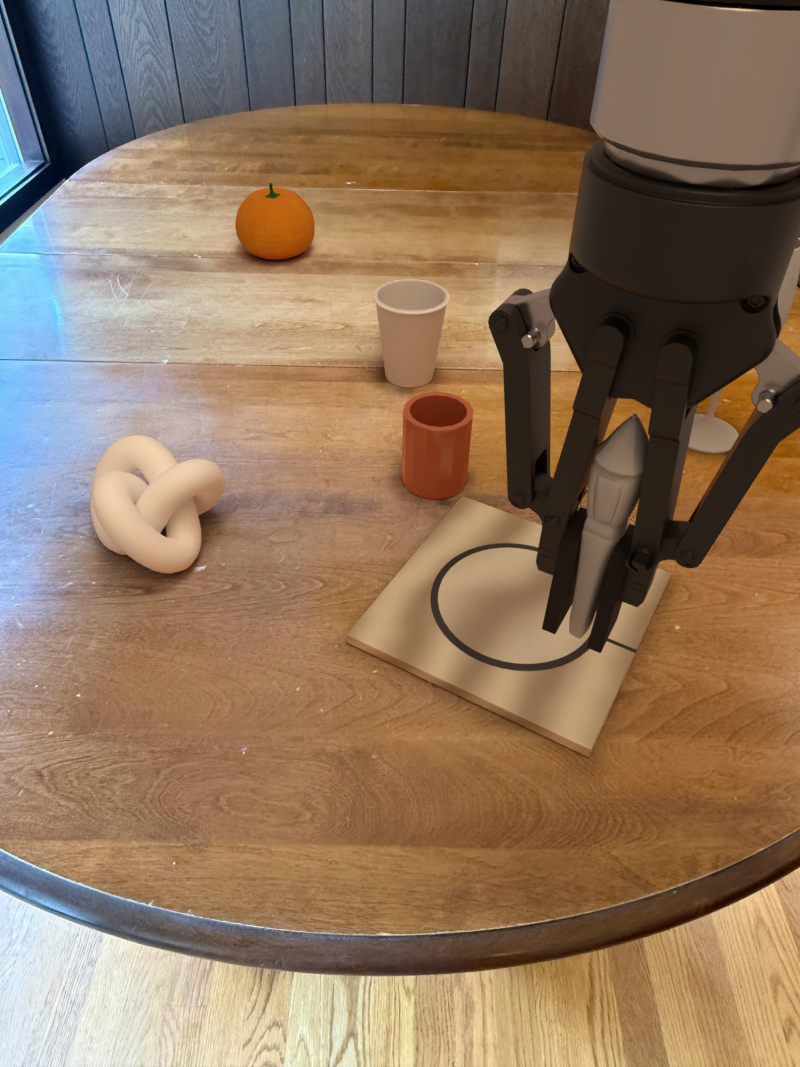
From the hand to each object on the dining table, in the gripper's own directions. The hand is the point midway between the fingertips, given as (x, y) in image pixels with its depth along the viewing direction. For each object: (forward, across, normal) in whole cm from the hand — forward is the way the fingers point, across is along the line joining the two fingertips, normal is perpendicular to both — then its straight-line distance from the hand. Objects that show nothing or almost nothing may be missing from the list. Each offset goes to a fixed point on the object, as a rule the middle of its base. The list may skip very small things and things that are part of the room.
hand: (579, 623), depth 41 cm
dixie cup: (+16, +34, -42) cm, 56 cm away
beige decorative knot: (+16, +38, -6) cm, 42 cm away
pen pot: (+16, +22, -26) cm, 37 cm away
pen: (+1, 0, 0) cm, 1 cm away
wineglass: (+16, 0, -48) cm, 50 cm away
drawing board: (+16, +8, -14) cm, 23 cm away
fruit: (+16, +68, -63) cm, 94 cm away
